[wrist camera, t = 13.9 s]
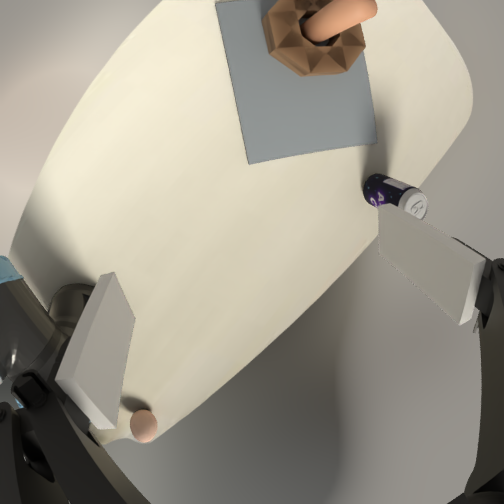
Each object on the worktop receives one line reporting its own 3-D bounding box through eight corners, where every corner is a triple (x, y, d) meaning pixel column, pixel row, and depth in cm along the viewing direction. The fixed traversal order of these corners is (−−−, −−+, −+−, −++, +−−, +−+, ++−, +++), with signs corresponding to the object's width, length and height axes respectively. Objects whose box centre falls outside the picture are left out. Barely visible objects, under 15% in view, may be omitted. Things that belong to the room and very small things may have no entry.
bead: (274, 79, 38) (281, 75, 34) (256, -2, 31) (261, -11, 28) (357, 74, 39) (370, 71, 35) (340, -1, 32) (351, -9, 29)
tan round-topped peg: (299, 46, 36) (349, 16, 21) (293, 24, 34) (341, -14, 20) (323, 45, 36) (381, 20, 22) (318, 23, 34) (372, -10, 20)
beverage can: (355, 182, 47) (397, 202, 36) (380, 166, 47) (424, 182, 36) (367, 209, 50) (407, 234, 39) (390, 193, 49) (433, 214, 38)
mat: (248, 164, 43) (249, 164, 42) (215, 4, 31) (215, 3, 31) (375, 142, 45) (377, 143, 44) (349, 1, 33) (350, 0, 33)
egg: (126, 409, 61) (123, 439, 52) (142, 400, 60) (139, 431, 52) (146, 421, 63) (145, 450, 55) (163, 412, 63) (162, 442, 54)
